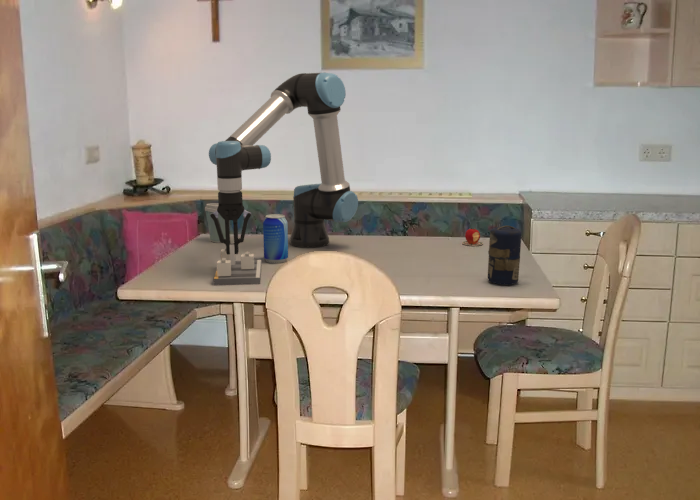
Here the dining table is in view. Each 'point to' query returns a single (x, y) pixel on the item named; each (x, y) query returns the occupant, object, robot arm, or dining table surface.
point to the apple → (472, 238)
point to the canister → (504, 255)
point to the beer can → (275, 238)
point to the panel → (236, 272)
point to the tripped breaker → (247, 261)
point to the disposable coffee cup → (211, 225)
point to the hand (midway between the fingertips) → (232, 263)
